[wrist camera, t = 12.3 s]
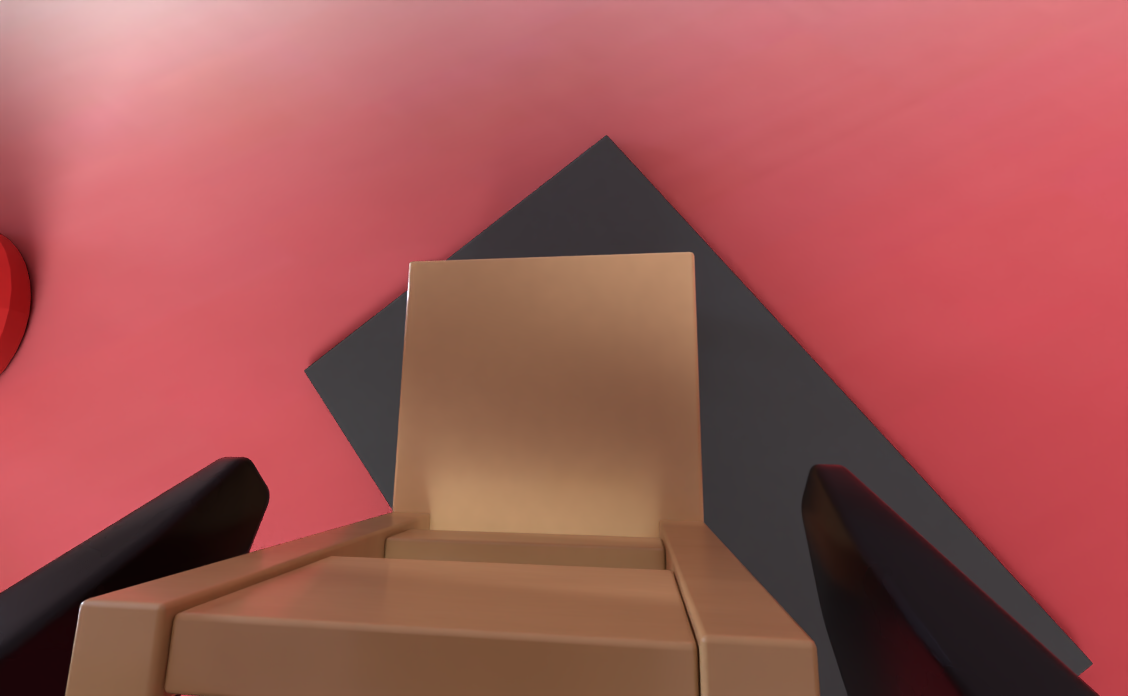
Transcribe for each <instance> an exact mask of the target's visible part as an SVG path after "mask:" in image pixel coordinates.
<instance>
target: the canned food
mask: <svg viewBox="0 0 1128 696" xmlns="http://www.w3.org/2000/svg"><path fill="white" fill-rule="evenodd" d="M30 302H31V291H30V279H29V275H28V272H27V268H26V264H25V262H24V260H23V258H22V256H21V254H20V252H19V250H18V249H17V248H16V247H15V246H14V244H13V243H12V242H11V241H10V240H9V239H8V238H6V237H5V236H3V235H2V234H0V374H1V373H2V372H3V371H4V370H5V369H6V367H7V365H8V364H9V362H10V361H11V359H12V358H13V356H14V354H15V353H16V351H17V349H18V346H19V344H20V342H21V340H22V337H23V335H24V332H25V329H26V325H27V321H28V318H29V312H30Z"/></svg>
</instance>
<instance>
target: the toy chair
mask: <svg viewBox="0 0 1128 696" xmlns="http://www.w3.org/2000/svg"><path fill="white" fill-rule="evenodd" d="M177 694H182V695H195V696H820V684H819V670H818V656H817V647H816V644H815V642H814V641H813V640H812V639H811V638H810V636H809V635H808V634H807V633H806V632H805V631H804V630H803V629H802V628H801V627H800V626H799V625H798V623H797V622H796V621H795V620H794V619H793V618H792V617H791V616H790V615H789V614H788V613H787V612H786V611H785V609H784V608H783V607H782V606H781V605H780V604H779V603H778V602H777V601H776V600H775V599H774V598H773V596H772V595H771V594H770V593H769V592H768V591H767V590H766V589H765V588H764V587H763V586H762V585H761V584H760V582H759V581H758V580H757V579H756V578H755V577H754V576H753V575H752V574H751V573H750V572H749V571H748V569H747V568H746V567H745V566H744V565H743V564H742V563H741V562H740V561H739V560H738V559H737V558H736V557H735V555H734V554H733V553H732V552H731V551H730V550H729V549H728V548H727V547H726V546H725V545H724V544H723V543H722V541H721V540H720V539H719V538H718V537H717V536H716V535H715V534H714V533H713V532H712V531H711V530H710V528H709V527H708V526H707V525H706V524H705V523H704V510H703V482H702V454H701V426H700V398H699V371H698V343H697V315H696V287H695V259H694V254H693V253H692V252H673V253H644V254H615V255H586V256H557V257H528V258H499V259H470V260H441V261H413V262H410V264H409V277H408V292H407V306H406V321H405V336H404V350H403V365H402V380H401V394H400V409H399V424H398V438H397V453H396V468H395V482H394V497H393V511H392V513H388V514H385V515H381V516H378V517H374V518H371V519H367V520H364V521H360V522H356V523H353V524H349V525H346V526H342V527H339V528H335V529H332V530H328V531H325V532H321V533H318V534H314V535H311V536H307V537H304V538H300V539H297V540H293V541H290V542H286V543H283V544H279V545H276V546H272V547H269V548H265V549H262V550H258V551H254V552H251V553H247V554H244V555H240V556H237V557H233V558H230V559H226V560H223V561H219V562H216V563H212V564H209V565H205V566H202V567H198V568H195V569H191V570H188V571H184V572H181V573H177V574H174V575H170V576H167V577H163V578H159V579H156V580H152V581H149V582H145V583H142V584H138V585H135V586H131V587H128V588H124V589H121V590H117V591H114V592H110V593H107V594H103V595H100V596H96V597H93V598H89V599H87V600H85V601H83V602H82V604H81V605H80V609H79V615H78V621H77V627H76V633H75V639H74V645H73V651H72V657H71V663H70V669H69V675H68V681H67V687H66V693H65V696H175V695H177Z"/></svg>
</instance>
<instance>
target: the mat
mask: <svg viewBox="0 0 1128 696" xmlns="http://www.w3.org/2000/svg"><path fill="white" fill-rule="evenodd" d="M673 252H692V253H693V254H694V259H695V287H696V315H697V343H698V371H699V398H700V426H701V454H702V482H703V510H704V523H705V524H706V525H707V526H708V527H709V528H710V530H711V531H712V532H713V533H714V534H715V535H716V536H717V537H718V538H719V539H720V540H721V541H722V543H723V544H724V545H725V546H726V547H727V548H728V549H729V550H730V551H731V552H732V553H733V554H734V555H735V557H736V558H737V559H738V560H739V561H740V562H741V563H742V564H743V565H744V566H745V567H746V568H747V569H748V571H749V572H750V573H751V574H752V575H753V576H754V577H755V578H756V579H757V580H758V581H759V582H760V584H761V585H762V586H763V587H764V588H765V589H766V590H767V591H768V592H769V593H770V594H771V595H772V596H773V598H774V599H775V600H776V601H777V602H778V603H779V604H780V605H781V606H782V607H783V608H784V609H785V611H786V612H787V613H788V614H789V615H790V616H791V617H792V618H793V619H794V620H795V621H796V622H797V623H798V625H799V626H800V627H801V628H802V629H803V630H804V631H805V632H806V633H807V634H808V635H809V636H810V638H811V639H812V640H813V641H814V642H815V644H816V647H817V656H818V670H819V684H820V696H847V692H846V689H845V686H844V683H843V680H842V677H841V674H840V671H839V668H838V665H837V661H836V658H835V655H834V652H833V649H832V646H831V643H830V640H829V637H828V633H827V630H826V627H825V623H824V620H823V616H822V611H821V607H820V602H819V598H818V593H817V588H816V583H815V578H814V573H813V568H812V564H811V559H810V554H809V549H808V544H807V539H806V534H805V529H804V524H803V520H802V513H801V501H802V497H803V493H804V489H805V485H806V482H807V478H808V474H809V471H810V468H811V467H812V466H813V465H816V464H835V465H842V466H844V467H845V468H847V469H848V470H849V471H850V472H851V473H853V474H854V475H855V476H856V477H857V478H858V479H859V480H860V481H861V482H863V483H864V484H865V485H866V486H867V487H868V488H869V489H870V490H871V491H873V492H874V493H875V494H876V495H877V496H878V497H879V498H880V499H881V500H883V501H884V502H885V503H886V504H887V505H888V506H889V507H890V508H891V509H893V510H894V511H895V512H896V513H897V514H898V515H899V516H900V517H901V518H903V519H904V520H905V521H906V522H907V523H908V524H909V525H910V526H912V527H913V528H914V529H915V530H916V531H917V532H918V533H919V534H920V535H922V536H923V537H924V538H925V539H926V540H927V541H928V542H929V543H930V544H932V545H933V546H934V547H935V548H936V549H937V550H938V551H939V552H940V553H942V554H943V555H944V556H945V557H946V558H947V559H948V560H949V561H950V562H952V563H953V564H954V565H955V566H956V567H957V568H958V569H959V570H960V571H962V572H963V573H964V574H965V575H966V576H967V577H968V578H969V579H970V580H972V581H973V582H974V583H975V584H976V585H977V586H978V587H979V588H981V589H982V590H983V591H984V592H985V593H986V594H987V595H988V596H989V597H991V598H992V599H993V600H994V601H995V602H996V603H997V604H998V605H999V606H1001V607H1002V608H1003V609H1004V610H1005V611H1006V612H1007V613H1008V614H1009V615H1011V616H1012V617H1013V618H1014V619H1015V620H1016V621H1017V622H1018V623H1019V624H1021V625H1022V626H1023V627H1024V628H1025V629H1026V630H1027V631H1028V632H1029V633H1031V634H1032V635H1033V636H1034V637H1035V638H1036V639H1037V640H1038V641H1039V642H1041V643H1042V644H1043V645H1044V646H1045V647H1046V648H1047V649H1048V650H1050V651H1051V652H1052V653H1053V654H1054V655H1055V656H1056V657H1057V658H1058V659H1060V660H1061V661H1062V662H1063V663H1064V664H1065V665H1066V666H1067V667H1068V668H1070V669H1071V670H1072V671H1073V672H1074V673H1075V674H1076V675H1077V676H1079V675H1080V674H1081V673H1082V672H1084V671H1085V670H1086V669H1087V668H1088V667H1090V666H1091V665H1092V664H1093V663H1092V662H1091V661H1090V660H1089V659H1088V657H1087V656H1086V655H1085V654H1084V653H1083V652H1082V651H1081V650H1080V649H1079V648H1078V647H1077V645H1076V644H1075V643H1074V642H1073V641H1072V640H1071V639H1070V638H1069V637H1068V636H1067V635H1066V634H1065V632H1064V631H1063V630H1062V629H1061V628H1060V627H1059V626H1058V625H1057V624H1056V623H1055V622H1054V621H1053V619H1052V618H1051V617H1050V616H1049V615H1048V614H1047V613H1046V612H1045V611H1044V610H1043V609H1042V607H1041V606H1040V605H1039V604H1038V603H1037V602H1036V601H1035V600H1034V599H1033V598H1032V597H1031V596H1030V594H1029V593H1028V592H1027V591H1026V590H1025V589H1024V588H1023V587H1022V586H1021V585H1020V584H1019V582H1018V581H1017V580H1016V579H1015V578H1014V577H1013V576H1012V575H1011V574H1010V573H1009V572H1008V571H1007V569H1006V568H1005V567H1004V566H1003V565H1002V564H1001V563H1000V562H999V561H998V560H997V559H996V557H995V556H994V555H993V554H992V553H991V552H990V551H989V550H988V549H987V548H986V547H985V546H984V544H983V543H982V542H981V541H980V540H979V539H978V538H977V537H976V536H975V535H974V534H973V533H972V531H971V530H970V529H969V528H968V527H967V526H966V525H965V524H964V523H963V522H962V521H961V519H960V518H959V517H958V516H957V515H956V514H955V513H954V512H953V511H952V510H951V509H950V508H949V506H948V505H947V504H946V503H945V502H944V501H943V500H942V499H941V498H940V497H939V496H938V494H937V493H936V492H935V491H934V490H933V489H932V488H931V487H930V486H929V485H928V484H927V483H926V481H925V480H924V479H923V478H922V477H921V476H920V475H919V474H918V473H917V472H916V471H915V469H914V468H913V467H912V466H911V465H910V464H909V463H908V462H907V461H906V460H905V459H904V458H903V456H902V455H901V454H900V453H899V452H898V451H897V450H896V449H895V448H894V447H893V446H892V444H891V443H890V442H889V441H888V440H887V439H886V438H885V437H884V436H883V435H882V434H881V433H880V431H879V430H878V429H877V428H876V427H875V426H874V425H873V424H872V423H871V422H870V421H869V420H868V418H867V417H866V416H865V415H864V414H863V413H862V412H861V411H860V410H859V409H858V408H857V406H856V405H855V404H854V403H853V402H852V401H851V400H850V399H849V398H848V397H847V396H846V395H845V393H844V392H843V391H842V390H841V389H840V388H839V387H838V386H837V385H836V384H835V383H834V381H833V380H832V379H831V378H830V377H829V376H828V375H827V374H826V373H825V372H824V371H823V370H822V368H821V367H820V366H819V365H818V364H817V363H816V362H815V361H814V360H813V359H812V358H811V356H810V355H809V354H808V353H807V352H806V351H805V350H804V349H803V348H802V347H801V346H800V345H799V343H798V342H797V341H796V340H795V339H794V338H793V337H792V336H791V335H790V334H789V333H788V332H787V330H786V329H785V328H784V327H783V326H782V325H781V324H780V323H779V322H778V321H777V320H776V318H775V317H774V316H773V315H772V314H771V313H770V312H769V311H768V310H767V309H766V308H765V307H764V305H763V304H762V303H761V302H760V301H759V300H758V299H757V298H756V297H755V296H754V295H753V293H752V292H751V291H750V290H749V289H748V288H747V287H746V286H745V285H744V284H743V283H742V282H741V280H740V279H739V278H738V277H737V276H736V275H735V274H734V273H733V272H732V271H731V270H730V268H729V267H728V266H727V265H726V264H725V263H724V262H723V261H722V260H721V259H720V258H719V257H718V255H717V254H716V253H715V252H714V251H713V250H712V249H711V248H710V247H709V246H708V245H707V243H706V242H705V241H704V240H703V239H702V238H701V237H700V236H699V235H698V234H697V233H696V232H695V230H694V229H693V228H692V227H691V226H690V225H689V224H688V223H687V222H686V221H685V220H684V219H683V217H682V216H681V215H680V214H679V213H678V212H677V211H676V210H675V209H674V208H673V207H672V205H671V204H670V203H669V202H668V201H667V200H666V199H665V198H664V197H663V196H662V195H661V194H660V192H659V191H658V190H657V189H656V188H655V187H654V186H653V185H652V184H651V183H650V182H649V180H648V179H647V178H646V177H645V176H644V175H643V174H642V173H641V172H640V171H639V170H638V169H637V167H636V166H635V165H634V164H633V163H632V162H631V161H630V160H629V159H628V158H627V157H626V155H625V154H624V153H623V152H622V151H621V150H620V149H619V148H618V147H617V146H616V145H615V144H614V142H613V141H612V140H611V139H610V138H609V137H608V136H607V135H606V136H605V137H603V138H602V139H601V140H600V141H598V142H597V143H596V144H594V145H593V146H592V147H591V148H589V149H588V150H587V151H585V152H584V153H583V154H582V155H580V156H579V157H578V158H576V159H575V160H574V161H573V162H571V163H570V164H569V165H567V166H566V167H565V168H564V169H562V170H561V171H560V172H559V173H557V174H556V175H555V176H553V177H552V178H551V179H550V180H548V181H547V182H546V183H544V184H543V185H542V186H541V187H539V188H538V189H537V190H535V191H534V192H533V193H532V194H530V195H529V196H528V197H526V198H525V199H524V200H523V201H521V202H520V203H519V204H517V205H516V206H515V207H514V208H512V209H511V210H510V211H508V212H507V213H506V214H505V215H503V216H502V217H501V218H499V219H498V220H497V221H496V222H494V223H493V224H492V225H490V226H489V227H488V228H487V229H485V230H484V231H483V232H481V233H480V234H479V235H478V236H476V237H475V238H474V239H472V240H471V241H470V242H469V243H467V244H466V245H465V246H463V247H462V248H461V249H460V250H458V251H457V252H456V253H454V254H453V255H452V256H451V257H449V258H448V259H447V260H470V259H499V258H528V257H557V256H586V255H615V254H644V253H673ZM407 292H408V290H407V291H406V292H404V293H403V294H402V295H401V296H399V297H398V298H397V299H395V300H394V301H393V302H392V303H390V304H389V305H388V306H386V307H385V308H384V309H383V310H381V311H380V312H379V313H377V314H376V315H375V316H374V317H372V318H371V319H370V320H368V321H367V322H366V323H365V324H363V325H362V326H361V327H359V328H358V329H357V330H356V331H354V332H353V333H352V334H350V335H349V336H348V337H347V338H345V339H344V340H343V341H341V342H340V343H339V344H338V345H336V346H335V347H334V348H332V349H331V350H330V351H329V352H327V353H326V354H325V355H323V356H322V357H321V358H320V359H318V360H317V361H316V362H314V363H313V364H312V365H311V366H309V367H308V368H307V369H305V370H304V371H305V373H306V375H307V376H308V378H309V379H310V381H311V382H312V384H313V386H314V387H315V389H316V390H317V392H318V393H319V395H320V397H321V398H322V400H323V401H324V403H325V404H326V406H327V408H328V409H329V411H330V412H331V414H332V415H333V417H334V419H335V420H336V422H337V423H338V425H339V426H340V428H341V430H342V431H343V433H344V434H345V436H346V437H347V439H348V441H349V442H350V444H351V445H352V447H353V448H354V450H355V452H356V453H357V455H358V456H359V458H360V459H361V461H362V463H363V464H364V466H365V467H366V469H367V470H368V472H369V474H370V475H371V477H372V478H373V480H374V481H375V483H376V485H377V486H378V488H379V489H380V491H381V492H382V494H383V496H384V497H385V499H386V500H387V502H388V503H389V505H390V507H391V508H392V510H393V497H394V482H395V468H396V453H397V438H398V424H399V409H400V394H401V380H402V365H403V350H404V336H405V321H406V306H407Z"/></svg>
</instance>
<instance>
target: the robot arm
mask: <svg viewBox="0 0 1128 696" xmlns="http://www.w3.org/2000/svg"><path fill="white" fill-rule="evenodd" d="M268 503H269V489H268V487H267V485H266V484H265V482H264V480H263V479H262V477H261V475H260V474H259V472H258V470H257V469H256V467H255V465H254V464H253V462H252V461H251V460H250V459H248V458H245V457H224V458H221V459H218V460H216V461H215V462H213V463H212V464H210V465H208V466H207V467H205V468H203V469H202V470H200V471H199V472H197V473H195V474H194V475H192V476H190V477H189V478H187V479H185V480H184V481H182V482H181V483H179V484H177V485H176V486H174V487H172V488H171V489H169V490H168V491H166V492H164V493H163V494H161V495H159V496H158V497H156V498H155V499H153V500H151V501H150V502H148V503H146V504H145V505H143V506H141V507H140V508H138V509H137V510H135V511H133V512H132V513H130V514H128V515H127V516H125V517H124V518H122V519H120V520H119V521H117V522H115V523H114V524H112V525H110V526H109V527H107V528H106V529H104V530H102V531H101V532H99V533H97V534H96V535H94V536H93V537H91V538H89V539H88V540H86V541H84V542H83V543H81V544H80V545H78V546H76V547H75V548H73V549H71V550H70V551H68V552H66V553H65V554H63V555H62V556H60V557H58V558H57V559H55V560H53V561H52V562H50V563H49V564H47V565H45V566H44V567H42V568H40V569H39V570H37V571H35V572H34V573H32V574H31V575H29V576H27V577H26V578H24V579H22V580H21V581H19V582H18V583H16V584H14V585H13V586H11V587H9V588H8V589H6V590H5V591H3V592H1V593H0V696H65V693H66V687H67V681H68V675H69V669H70V663H71V657H72V651H73V645H74V639H75V633H76V627H77V621H78V615H79V609H80V605H81V604H82V602H83V601H85V600H87V599H89V598H93V597H96V596H100V595H103V594H107V593H110V592H114V591H117V590H121V589H124V588H128V587H131V586H135V585H138V584H142V583H145V582H149V581H152V580H156V579H159V578H163V577H167V576H170V575H174V574H177V573H181V572H184V571H188V570H191V569H195V568H198V567H202V566H205V565H209V564H212V563H216V562H219V561H223V560H226V559H230V558H233V557H237V556H240V555H244V554H247V553H249V551H250V549H251V546H252V544H253V541H254V539H255V536H256V534H257V531H258V529H259V526H260V523H261V521H262V518H263V516H264V513H265V511H266V508H267V506H268ZM801 513H802V520H803V524H804V529H805V534H806V539H807V544H808V549H809V554H810V559H811V564H812V568H813V573H814V578H815V583H816V588H817V593H818V598H819V602H820V607H821V611H822V616H823V620H824V623H825V627H826V630H827V633H828V637H829V640H830V643H831V646H832V649H833V652H834V655H835V658H836V661H837V665H838V668H839V671H840V674H841V677H842V680H843V683H844V686H845V689H846V692H847V696H1100V695H1098V694H1097V693H1096V692H1095V691H1094V690H1093V689H1092V688H1091V687H1090V686H1088V685H1087V684H1086V683H1085V682H1084V681H1083V680H1082V679H1081V678H1080V677H1078V676H1077V675H1076V674H1075V673H1074V672H1073V671H1072V670H1071V669H1070V668H1068V667H1067V666H1066V665H1065V664H1064V663H1063V662H1062V661H1061V660H1060V659H1058V658H1057V657H1056V656H1055V655H1054V654H1053V653H1052V652H1051V651H1050V650H1048V649H1047V648H1046V647H1045V646H1044V645H1043V644H1042V643H1041V642H1039V641H1038V640H1037V639H1036V638H1035V637H1034V636H1033V635H1032V634H1031V633H1029V632H1028V631H1027V630H1026V629H1025V628H1024V627H1023V626H1022V625H1021V624H1019V623H1018V622H1017V621H1016V620H1015V619H1014V618H1013V617H1012V616H1011V615H1009V614H1008V613H1007V612H1006V611H1005V610H1004V609H1003V608H1002V607H1001V606H999V605H998V604H997V603H996V602H995V601H994V600H993V599H992V598H991V597H989V596H988V595H987V594H986V593H985V592H984V591H983V590H982V589H981V588H979V587H978V586H977V585H976V584H975V583H974V582H973V581H972V580H970V579H969V578H968V577H967V576H966V575H965V574H964V573H963V572H962V571H960V570H959V569H958V568H957V567H956V566H955V565H954V564H953V563H952V562H950V561H949V560H948V559H947V558H946V557H945V556H944V555H943V554H942V553H940V552H939V551H938V550H937V549H936V548H935V547H934V546H933V545H932V544H930V543H929V542H928V541H927V540H926V539H925V538H924V537H923V536H922V535H920V534H919V533H918V532H917V531H916V530H915V529H914V528H913V527H912V526H910V525H909V524H908V523H907V522H906V521H905V520H904V519H903V518H901V517H900V516H899V515H898V514H897V513H896V512H895V511H894V510H893V509H891V508H890V507H889V506H888V505H887V504H886V503H885V502H884V501H883V500H881V499H880V498H879V497H878V496H877V495H876V494H875V493H874V492H873V491H871V490H870V489H869V488H868V487H867V486H866V485H865V484H864V483H863V482H861V481H860V480H859V479H858V478H857V477H856V476H855V475H854V474H853V473H851V472H850V471H849V470H848V469H847V468H845V467H844V466H842V465H835V464H816V465H813V466H812V467H811V468H810V471H809V474H808V478H807V482H806V485H805V489H804V493H803V497H802V501H801ZM175 696H181V694H177V695H175Z"/></svg>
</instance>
